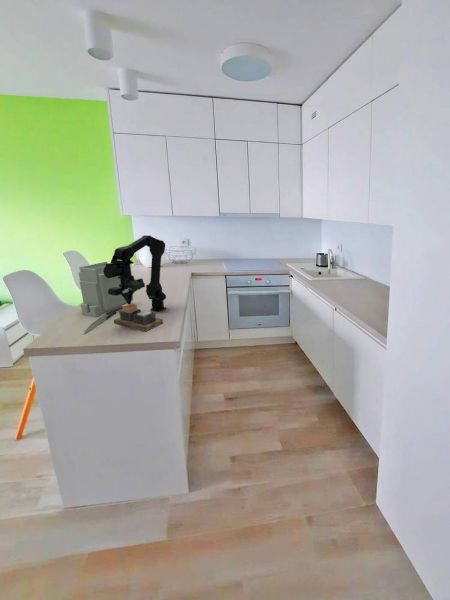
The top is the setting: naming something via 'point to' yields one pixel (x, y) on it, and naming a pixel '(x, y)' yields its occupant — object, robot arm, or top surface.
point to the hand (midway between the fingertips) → (129, 304)
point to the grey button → (144, 313)
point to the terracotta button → (129, 308)
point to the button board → (138, 320)
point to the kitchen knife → (99, 321)
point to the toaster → (98, 291)
